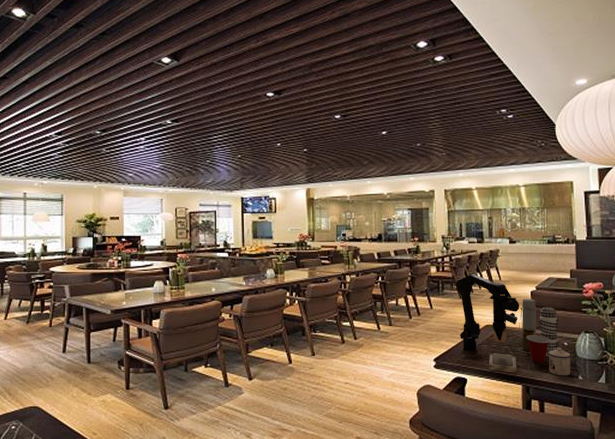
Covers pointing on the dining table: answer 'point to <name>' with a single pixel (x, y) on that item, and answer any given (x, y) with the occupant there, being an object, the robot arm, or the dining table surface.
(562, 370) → the teacup with lid
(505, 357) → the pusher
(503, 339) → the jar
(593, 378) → the dining table surface
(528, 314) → the water bottle
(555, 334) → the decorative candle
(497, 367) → the tan piece
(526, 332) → the condiment
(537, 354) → the plastic cup
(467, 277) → the robot arm
